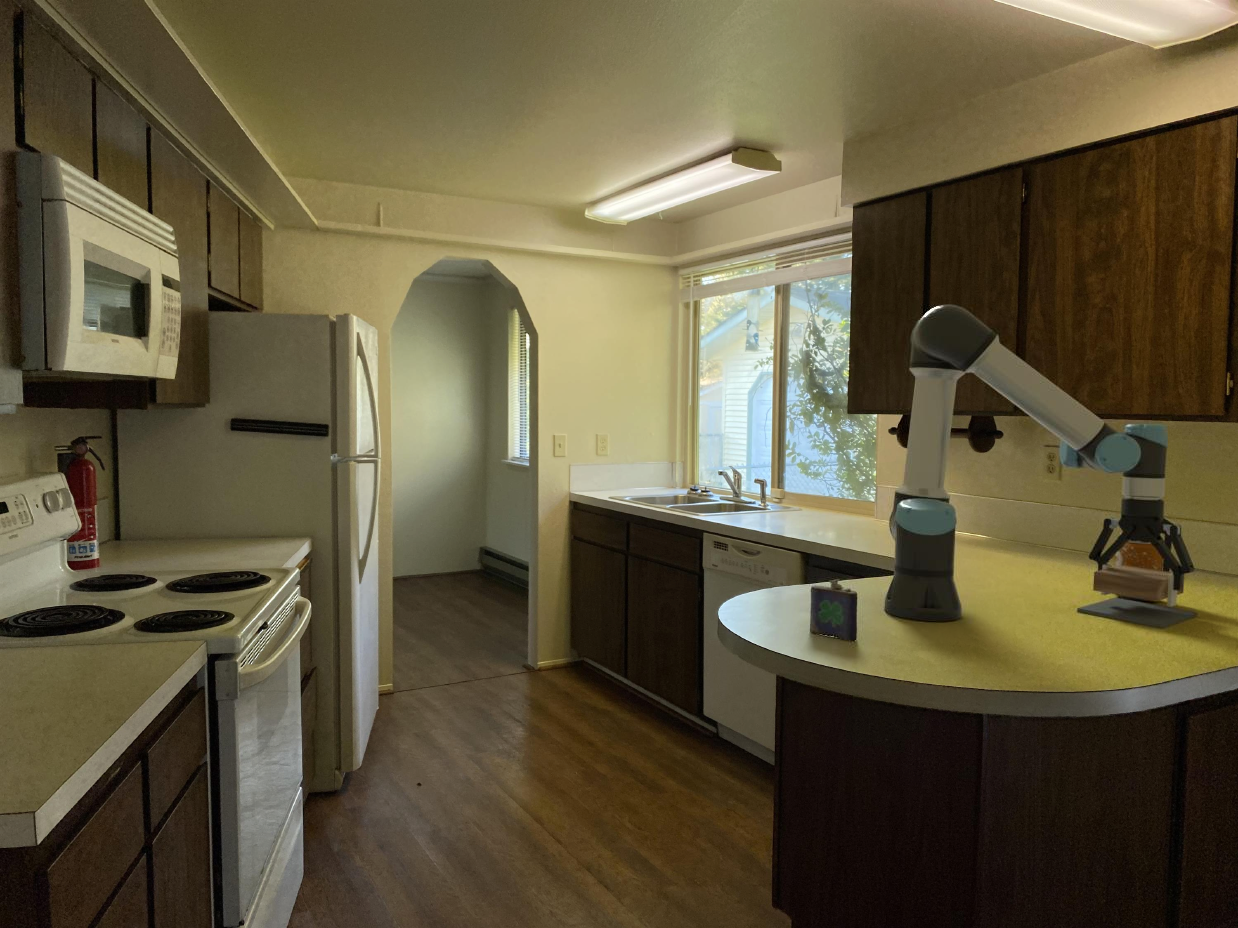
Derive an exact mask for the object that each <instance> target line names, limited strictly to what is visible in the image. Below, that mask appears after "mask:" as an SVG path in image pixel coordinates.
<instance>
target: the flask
mask: <svg viewBox="0 0 1238 928" xmlns="http://www.w3.org/2000/svg"><path fill="white" fill-rule="evenodd" d="M839 582H840V579H839V578H837V579H836V578H835V579H833V580H829V584H830V586H826V585H825V586H824V585H812V586H811V588H810V614H809V615H810V617H809V619H810V620H809V632H811V633H812V634H813V633H815V634H814V635H816V634H818V635H819V634H822V635H827V636H834V637H837V638H841V639H844V640H843V641H846V640H847V641H846V642H853V641H854V642H856V641H857V636H858V635H857V634H858V621H857V619H858V615H857V614H858V593H857V591H856V590H851V588H848V587H846V588H845V587H843V585H841V584H840V583H839ZM822 635H821V636H822ZM834 637H833V638H834ZM841 639H840V640H841ZM855 640H856V641H855Z"/></svg>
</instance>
